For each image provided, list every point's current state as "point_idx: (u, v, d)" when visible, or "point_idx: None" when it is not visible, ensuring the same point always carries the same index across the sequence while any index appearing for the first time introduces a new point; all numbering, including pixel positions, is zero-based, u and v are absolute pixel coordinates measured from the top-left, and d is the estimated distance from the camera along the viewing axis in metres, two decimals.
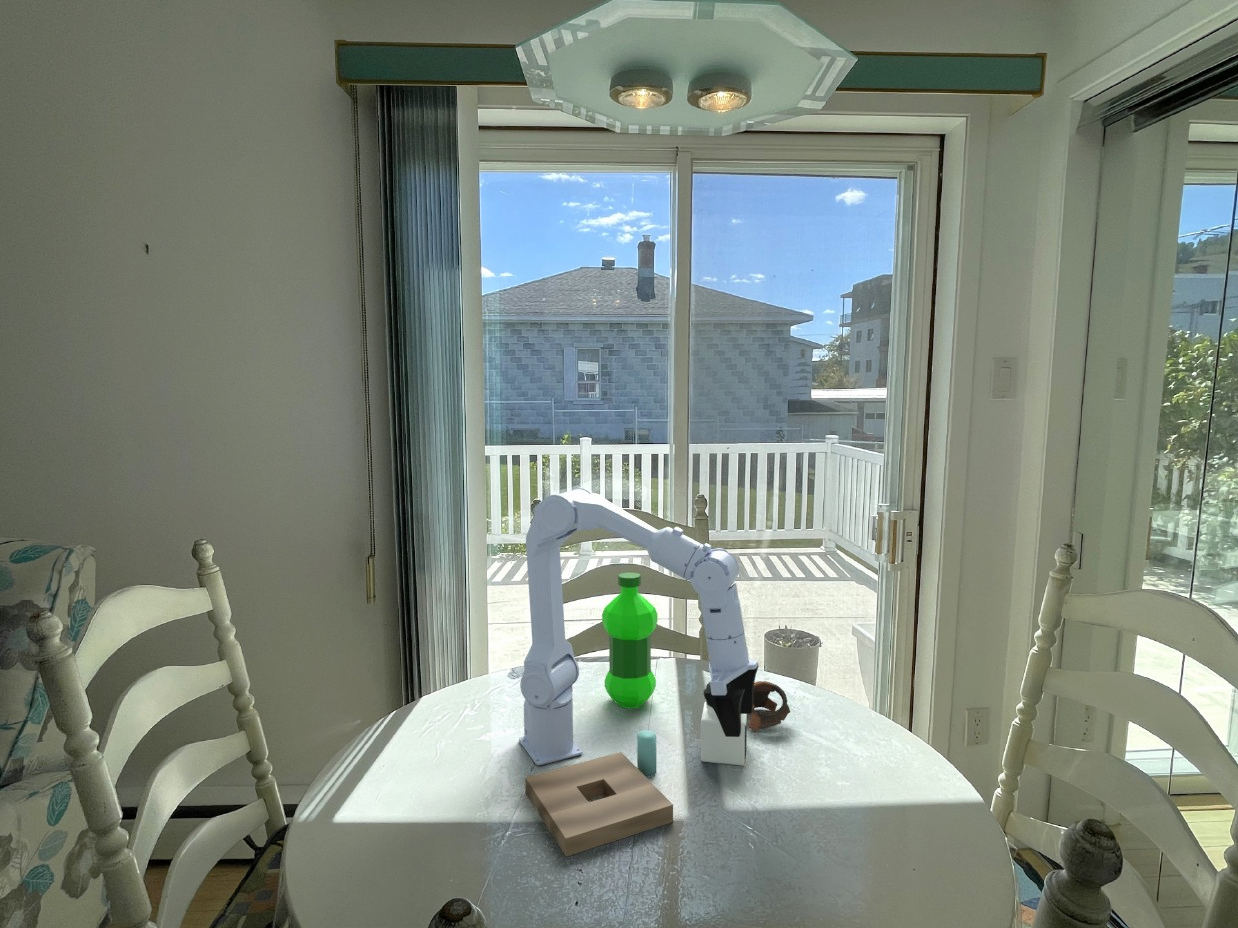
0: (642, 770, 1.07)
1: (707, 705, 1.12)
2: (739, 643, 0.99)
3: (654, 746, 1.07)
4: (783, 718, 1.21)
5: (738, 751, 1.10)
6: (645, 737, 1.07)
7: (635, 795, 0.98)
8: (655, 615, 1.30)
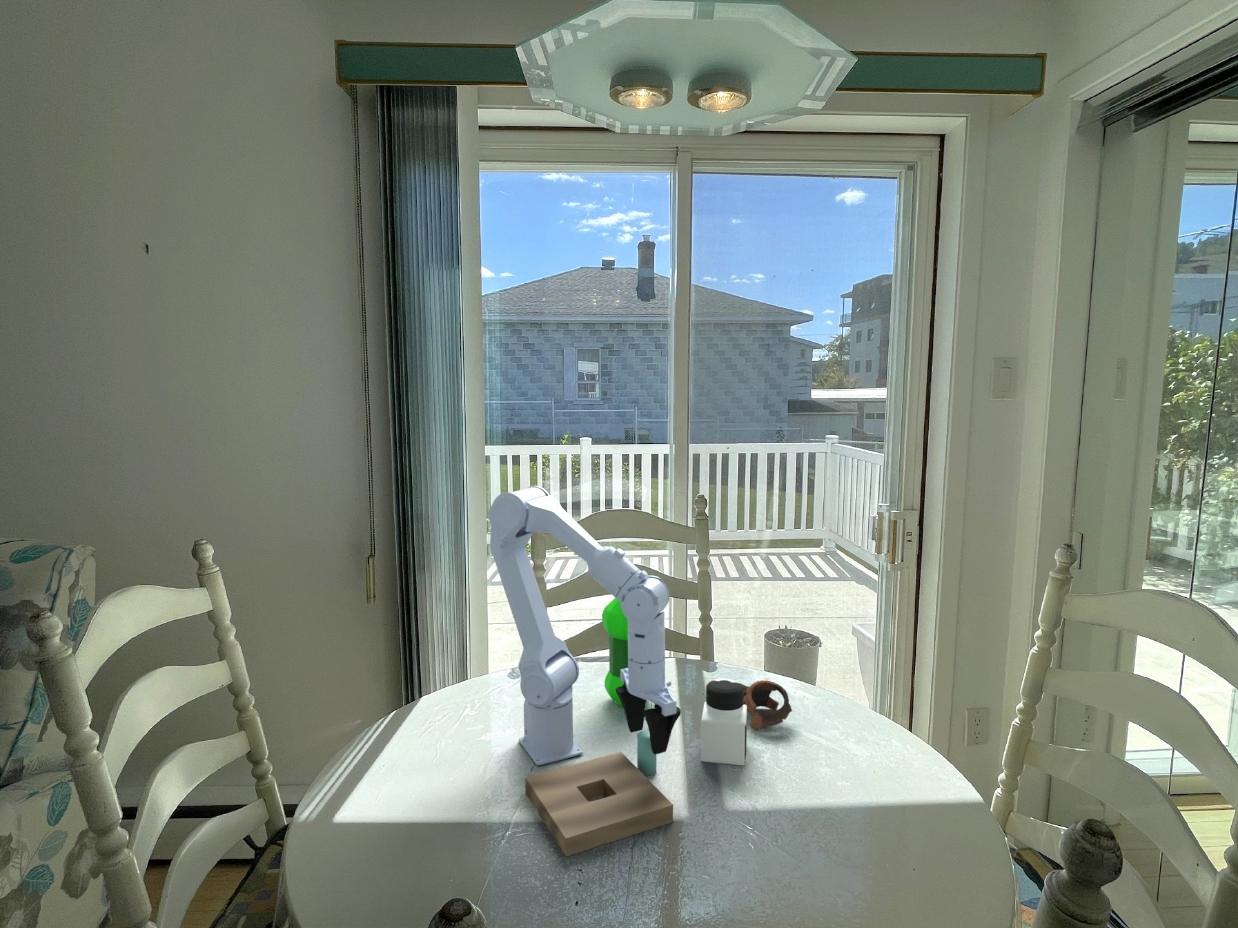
0: (642, 770, 1.07)
1: (707, 705, 1.12)
2: (664, 663, 1.07)
3: None
4: (785, 717, 1.21)
5: (738, 751, 1.10)
6: (645, 737, 1.07)
7: (635, 795, 0.98)
8: None
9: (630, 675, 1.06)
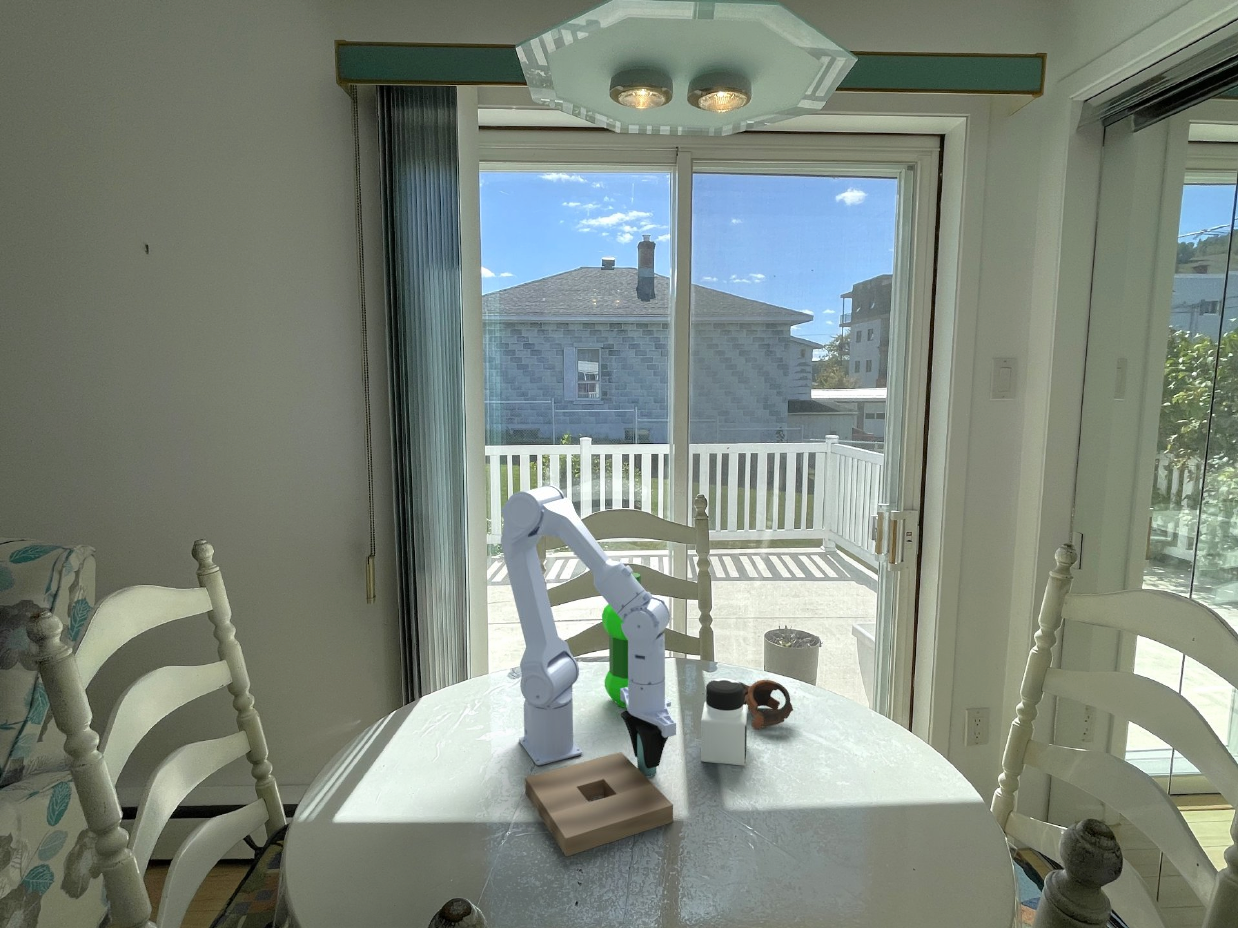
0: (642, 770, 1.07)
1: (707, 705, 1.12)
2: (664, 684, 1.07)
3: None
4: (786, 716, 1.21)
5: (738, 751, 1.10)
6: None
7: (635, 795, 0.98)
8: None
9: (630, 695, 1.06)
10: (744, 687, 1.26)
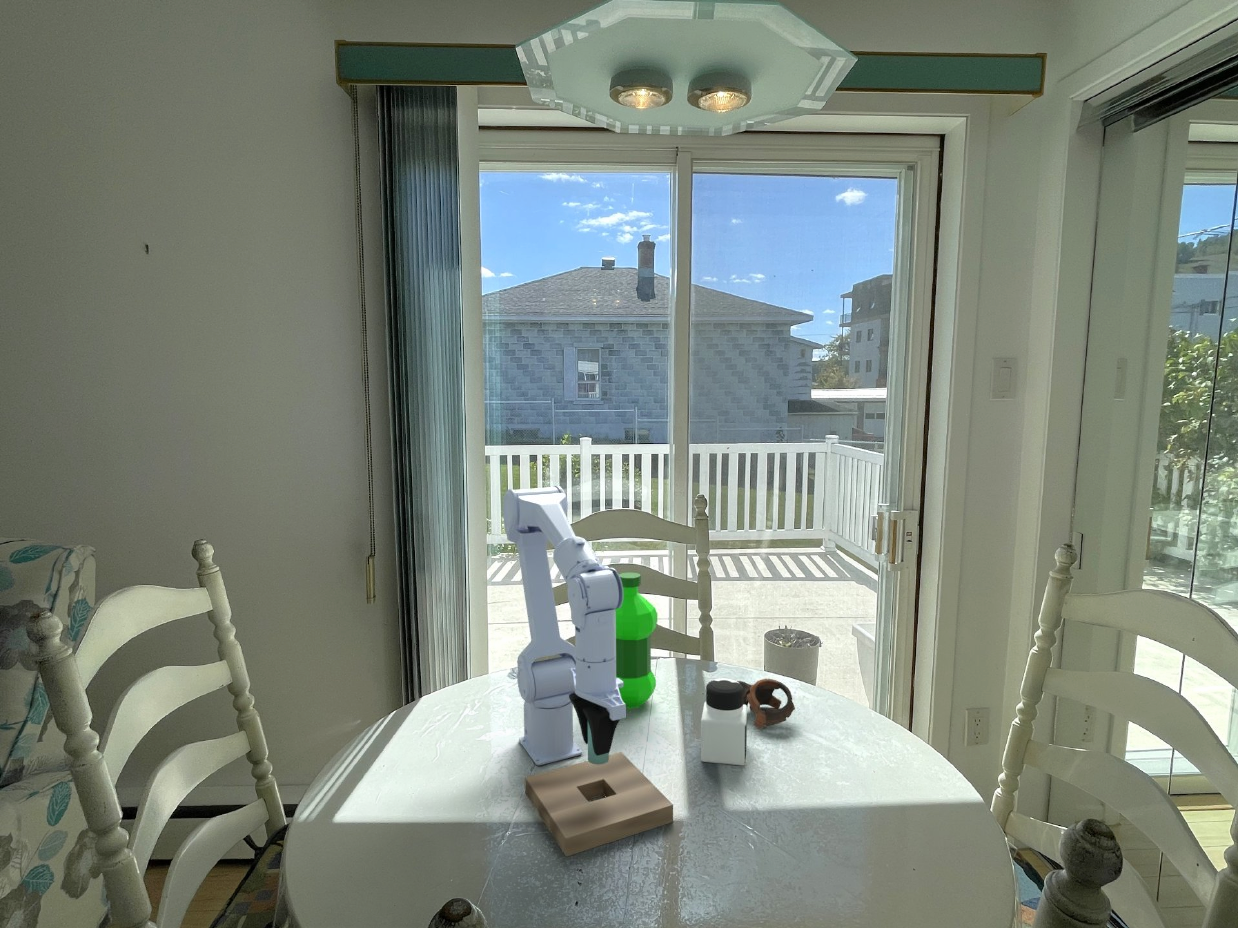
0: (593, 758, 0.97)
1: (707, 705, 1.12)
2: (615, 662, 0.97)
3: None
4: (788, 715, 1.22)
5: (738, 751, 1.10)
6: None
7: (635, 795, 0.98)
8: (655, 615, 1.30)
9: (577, 675, 0.96)
10: (746, 686, 1.27)
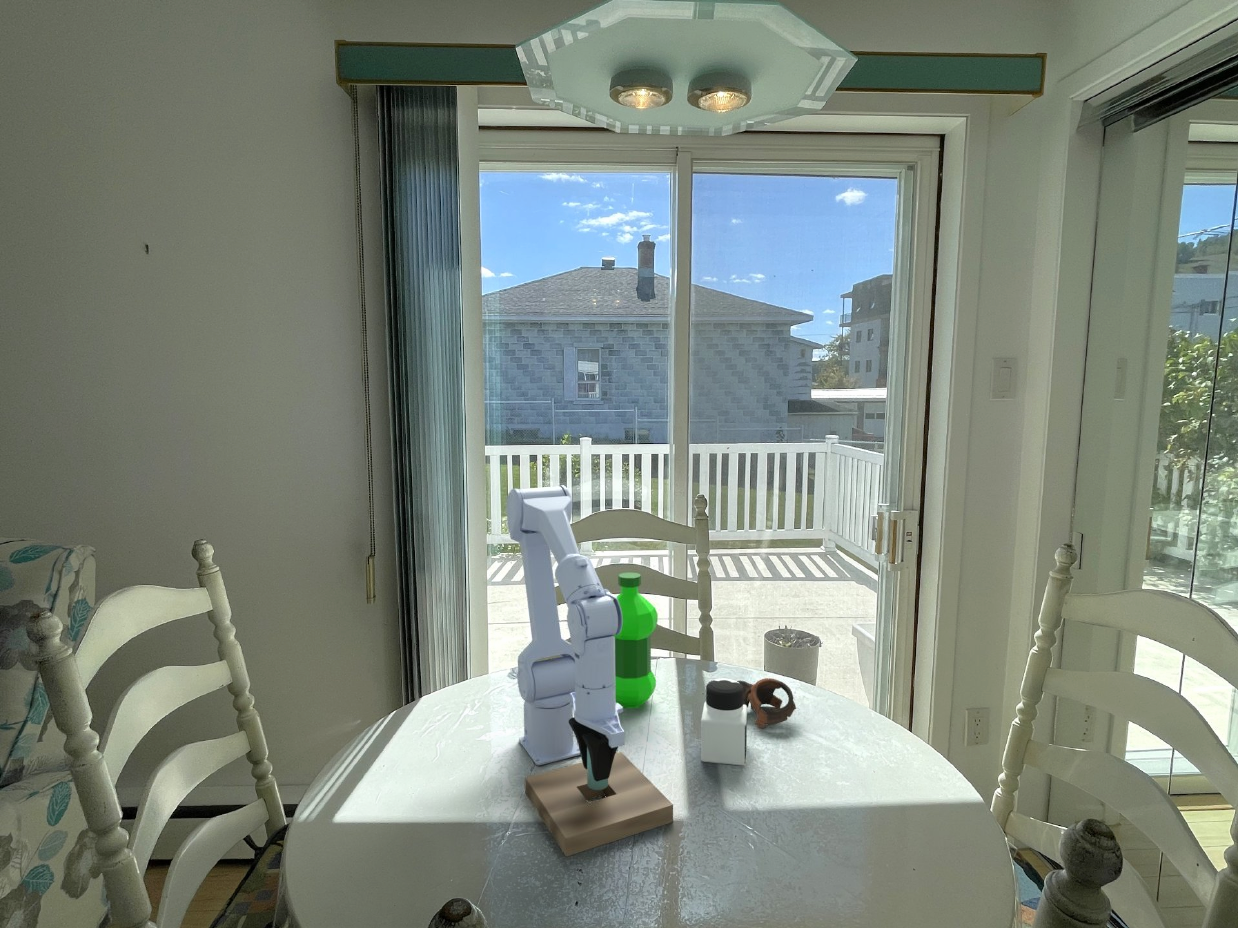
0: (593, 783, 0.98)
1: (707, 705, 1.12)
2: None
3: None
4: (789, 714, 1.22)
5: (738, 751, 1.10)
6: None
7: (635, 795, 0.98)
8: (655, 615, 1.30)
9: (576, 701, 0.96)
10: (747, 686, 1.27)
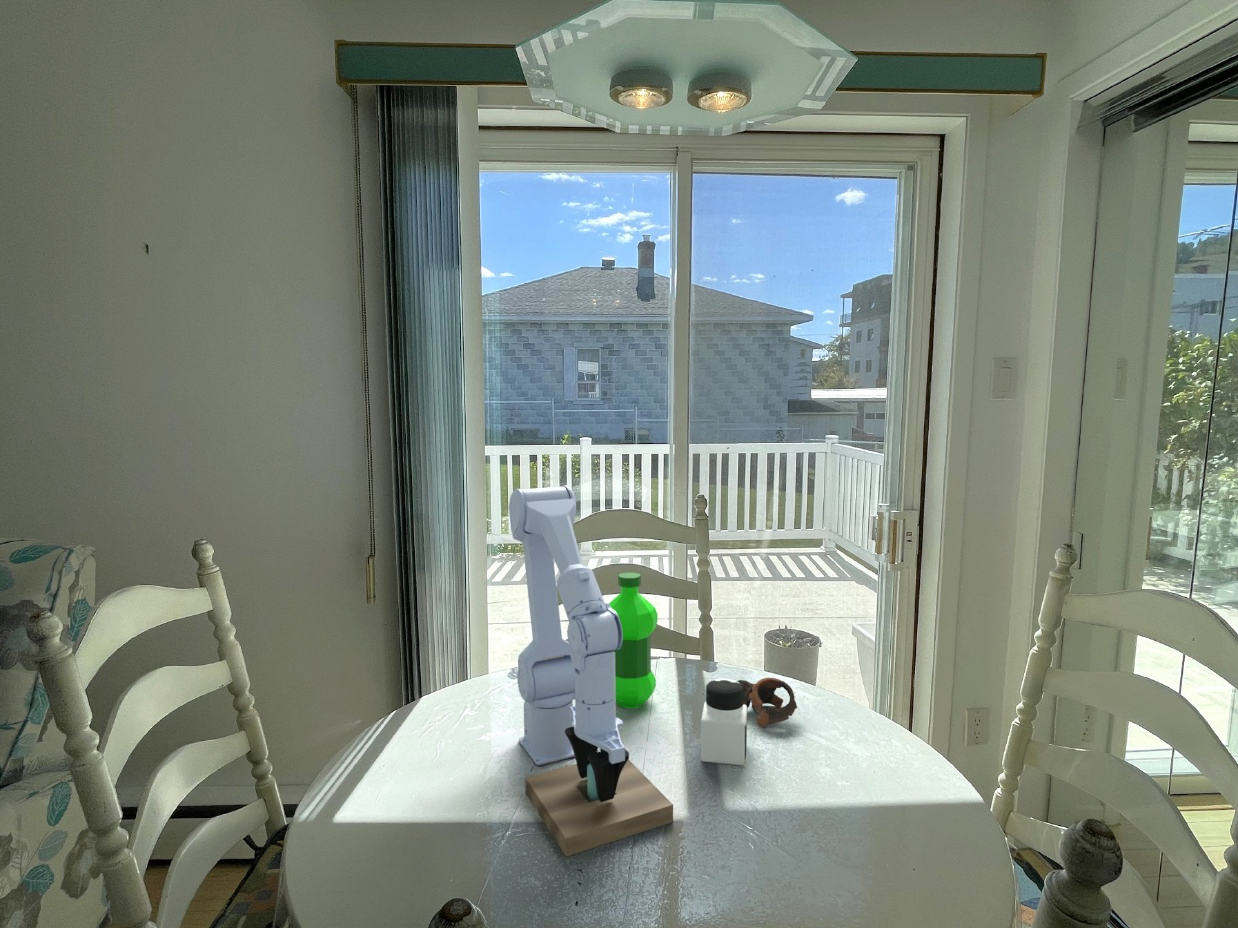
0: None
1: (707, 705, 1.12)
2: (615, 703, 0.98)
3: None
4: (791, 714, 1.22)
5: (738, 751, 1.10)
6: None
7: (635, 795, 0.98)
8: (655, 615, 1.30)
9: (577, 716, 0.97)
10: (748, 685, 1.27)
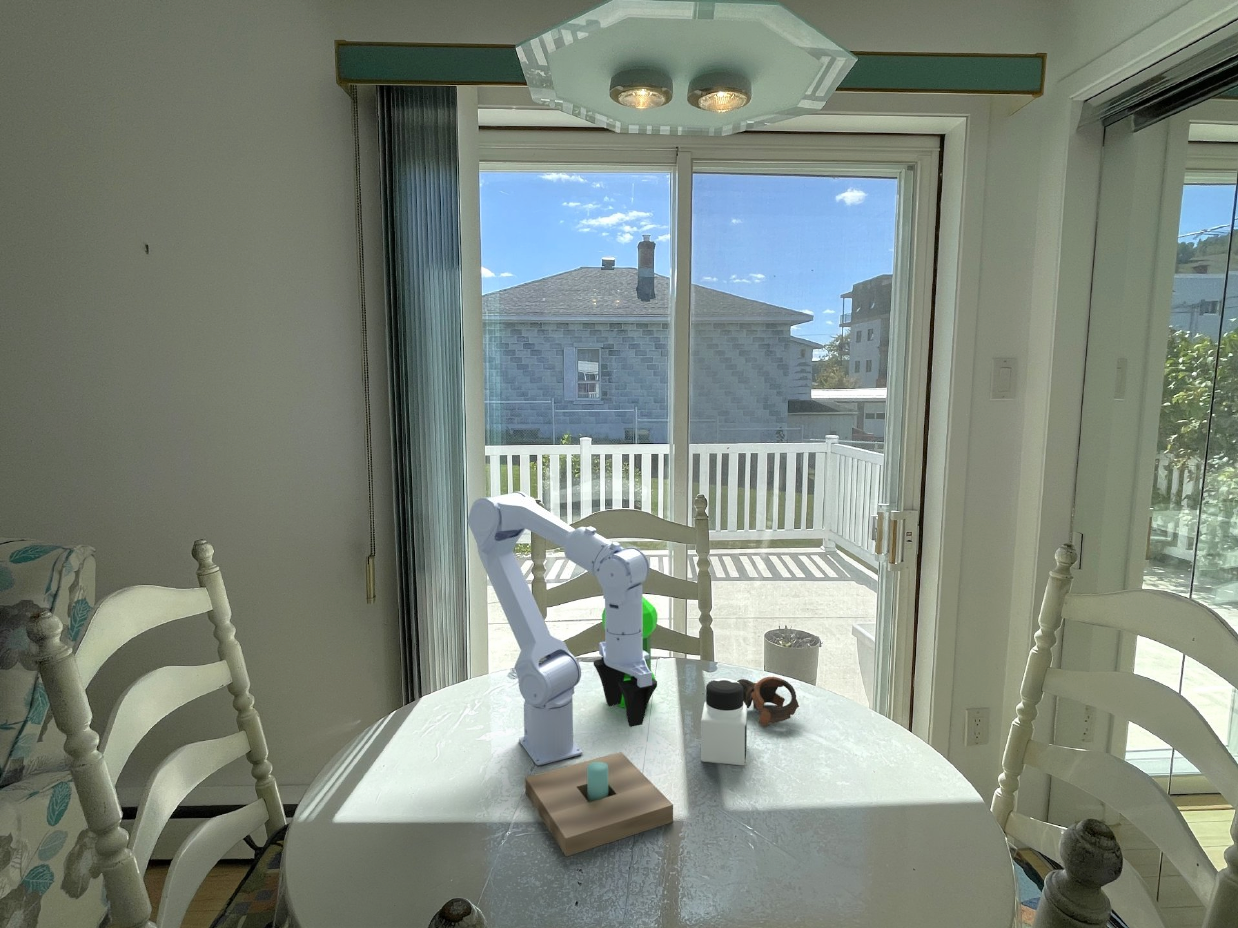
0: None
1: (707, 705, 1.12)
2: (642, 635, 1.05)
3: (606, 779, 0.98)
4: (792, 713, 1.23)
5: (738, 751, 1.10)
6: (596, 770, 0.98)
7: (635, 795, 0.98)
8: (655, 615, 1.30)
9: (607, 647, 1.04)
10: (750, 684, 1.28)
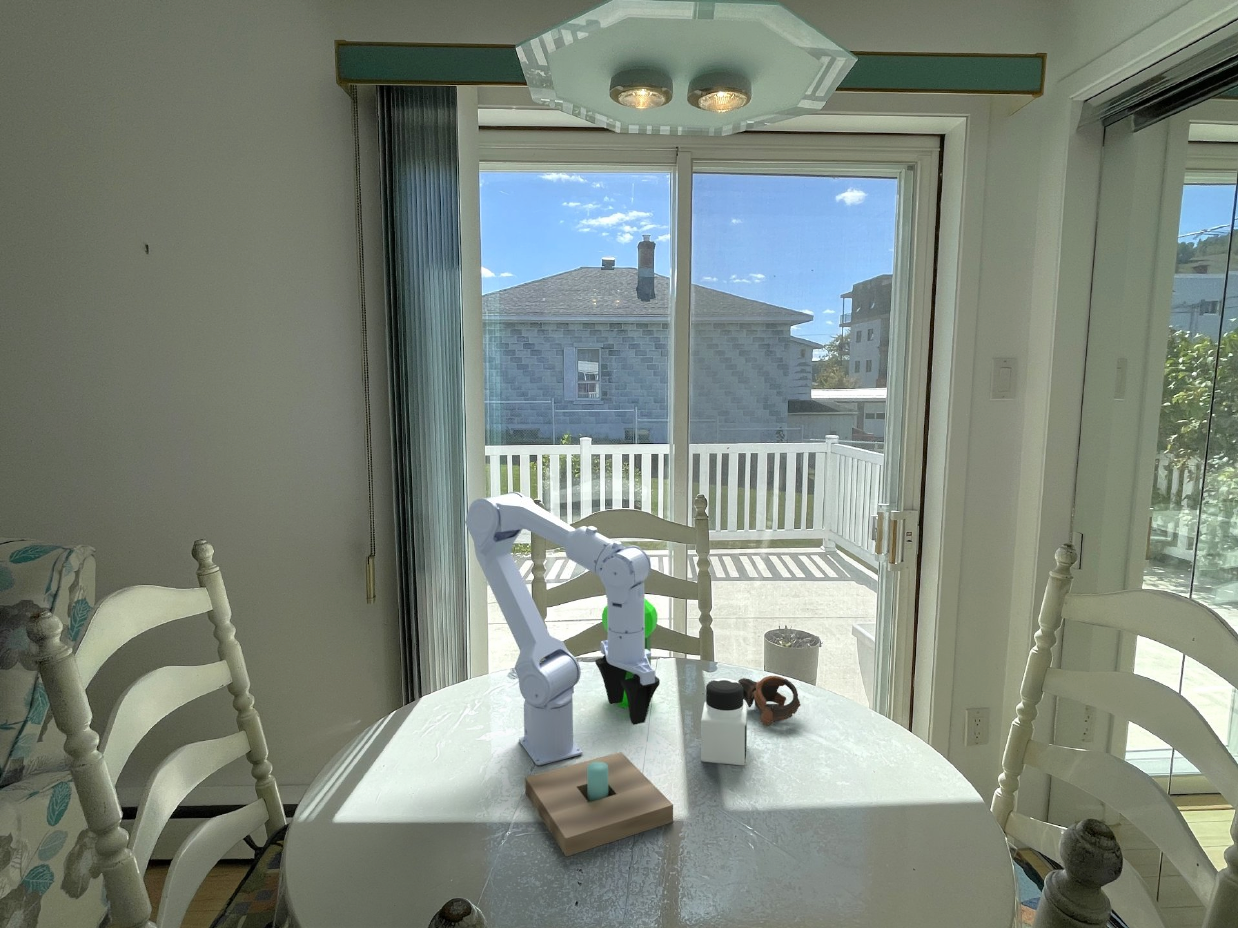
0: None
1: (707, 705, 1.12)
2: (644, 634, 1.06)
3: (606, 779, 0.98)
4: (794, 711, 1.23)
5: (738, 751, 1.10)
6: (596, 770, 0.98)
7: (635, 795, 0.98)
8: (655, 615, 1.30)
9: (609, 645, 1.05)
10: (752, 683, 1.28)
